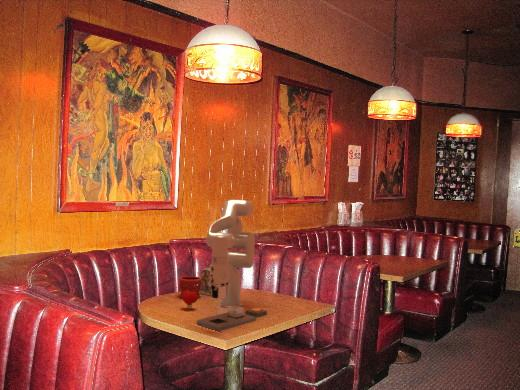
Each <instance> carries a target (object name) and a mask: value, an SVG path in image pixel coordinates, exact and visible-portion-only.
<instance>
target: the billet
mask: <svg viewBox="0 0 520 390" xmlns="http://www.w3.org/2000/svg"><path fill="white" fill-rule="evenodd" d="M214 287H215V285H214ZM216 290H217V298H212V294H211V296H210V297H211V299H215V300H220V299H224V298H226V286H224V285H220V284H218V285H217V289H216Z"/></svg>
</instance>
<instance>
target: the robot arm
mask: <svg viewBox="0 0 520 390" xmlns="http://www.w3.org/2000/svg"><path fill="white" fill-rule="evenodd" d="M253 213H254V204H253V202H252V201H250V200H246V199H228V200H226V201H224V202H223V203H222V211H221V213H220V214H221V215H220V218H218V219H217V220H215V221H214V222H213V223H212V224H211V225H210V226H209V227H208V231H207V233H206V240H205V242H206V246H208V247H209V248H212V251H211V252H212V255H211V256H212V257H211V264H210V265H211V268H210V280H209V282H208V283H207V284H208V285H209V286H210V288H211V289H212V298H211V299H214V298H217V290H216V289H217V285H218V284H221V285H224V286H226V298H224V299H219V300H221V302H220V306H221V307H223V308H228V307H229V308H230V307H234V306H239V307H242V308H243V303H242V302H241V280H242V276H241V273H240V271H239V269H240V268H241V269H243V268H244V269H251V268H253V266H254V262H255V246H256V245H255V240H256V239H255V235H254V233H253V232H249V231H243V222H242V219H241V218H240V217H252V215H253ZM225 230H227V232H222V231H225ZM229 249H231V250H229ZM232 249H233V250H232ZM234 249H244V250H234ZM214 285H215V287H214Z"/></svg>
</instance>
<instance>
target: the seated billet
mask: <svg viewBox="0 0 520 390" xmlns="http://www.w3.org/2000/svg"><path fill="white" fill-rule="evenodd" d="M228 312H229V317H231V318H234V319H238V318H242V317H243V314H244V307H243V306H242V307H240V306H234V307H229V310H228Z"/></svg>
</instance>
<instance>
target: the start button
mask: <svg viewBox="0 0 520 390" xmlns="http://www.w3.org/2000/svg"><path fill="white" fill-rule="evenodd" d="M262 310H263V309H262V308H258V307H254V308H250V311H253V312H260V311H262Z"/></svg>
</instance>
